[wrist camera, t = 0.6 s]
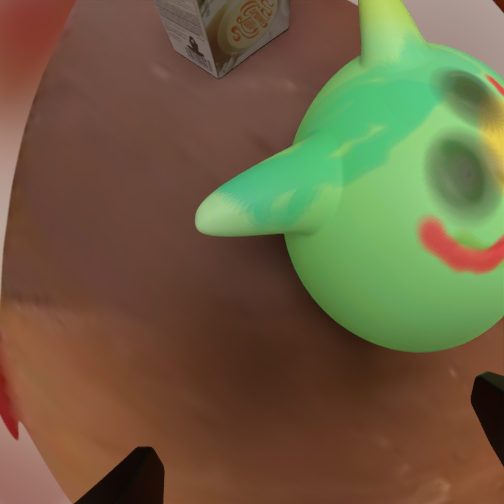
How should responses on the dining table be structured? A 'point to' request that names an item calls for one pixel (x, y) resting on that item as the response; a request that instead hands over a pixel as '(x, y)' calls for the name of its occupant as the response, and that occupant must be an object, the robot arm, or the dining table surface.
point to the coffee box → (222, 29)
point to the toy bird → (389, 191)
